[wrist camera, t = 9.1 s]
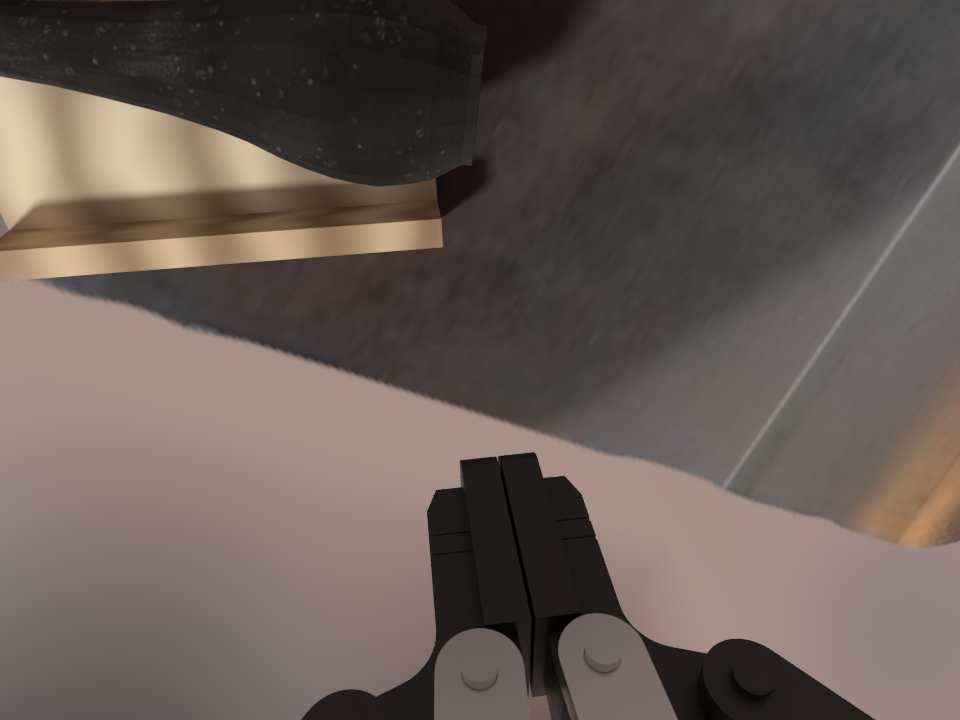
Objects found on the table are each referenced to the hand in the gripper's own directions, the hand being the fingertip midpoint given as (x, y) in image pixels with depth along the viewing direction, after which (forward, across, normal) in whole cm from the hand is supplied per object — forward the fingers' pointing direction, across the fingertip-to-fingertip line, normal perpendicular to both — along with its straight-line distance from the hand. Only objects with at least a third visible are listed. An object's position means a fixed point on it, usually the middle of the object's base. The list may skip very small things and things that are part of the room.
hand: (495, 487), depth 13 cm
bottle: (+28, -3, -1) cm, 28 cm away
